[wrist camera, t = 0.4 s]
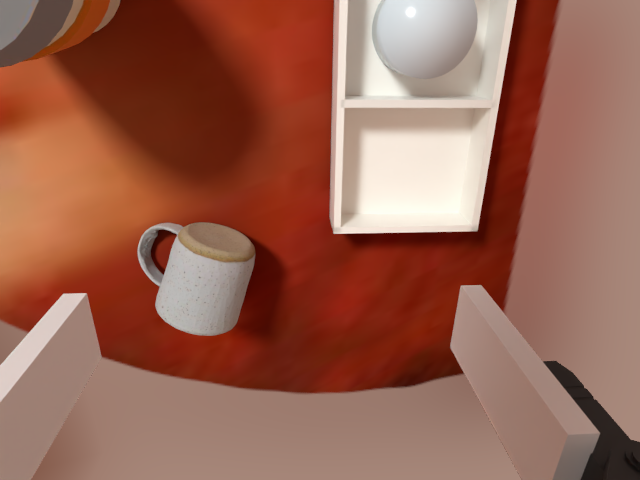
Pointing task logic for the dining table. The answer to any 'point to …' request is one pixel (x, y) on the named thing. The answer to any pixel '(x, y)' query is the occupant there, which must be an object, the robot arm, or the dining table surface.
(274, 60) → the dining table surface
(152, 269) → the ceramic mug
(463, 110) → the caddy
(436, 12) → the white dome
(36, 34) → the reusable coffee cup
